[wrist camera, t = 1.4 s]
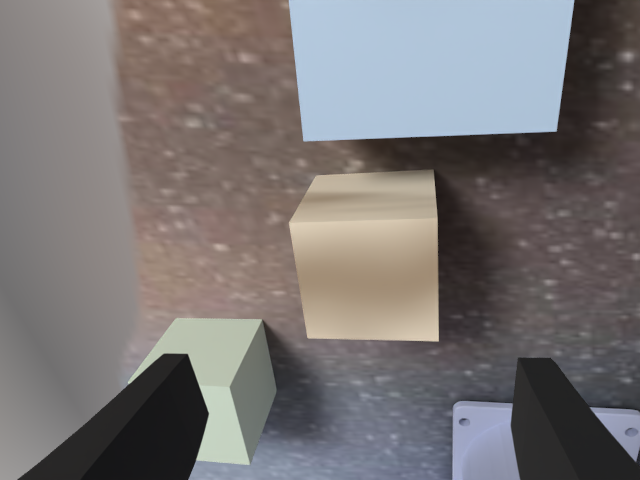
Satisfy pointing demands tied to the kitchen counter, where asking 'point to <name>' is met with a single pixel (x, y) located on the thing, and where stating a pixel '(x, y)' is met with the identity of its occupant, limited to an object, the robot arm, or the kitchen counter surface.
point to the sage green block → (225, 381)
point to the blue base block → (429, 66)
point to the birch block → (369, 256)
